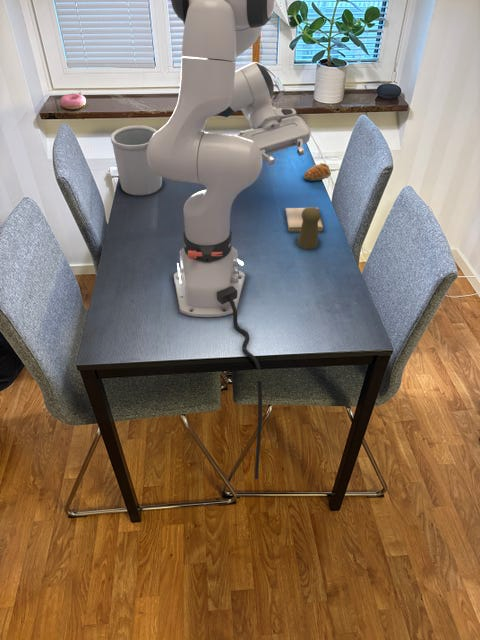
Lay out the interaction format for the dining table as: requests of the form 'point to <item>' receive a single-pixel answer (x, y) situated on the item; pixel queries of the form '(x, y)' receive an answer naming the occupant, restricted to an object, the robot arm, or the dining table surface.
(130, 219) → the dining table surface
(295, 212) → the serving board
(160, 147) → the robot arm
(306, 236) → the olive brown pawn
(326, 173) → the pastry
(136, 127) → the utensil holder
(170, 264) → the dining table surface
